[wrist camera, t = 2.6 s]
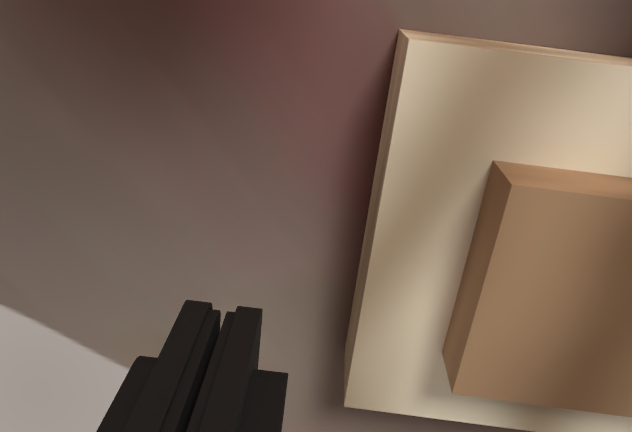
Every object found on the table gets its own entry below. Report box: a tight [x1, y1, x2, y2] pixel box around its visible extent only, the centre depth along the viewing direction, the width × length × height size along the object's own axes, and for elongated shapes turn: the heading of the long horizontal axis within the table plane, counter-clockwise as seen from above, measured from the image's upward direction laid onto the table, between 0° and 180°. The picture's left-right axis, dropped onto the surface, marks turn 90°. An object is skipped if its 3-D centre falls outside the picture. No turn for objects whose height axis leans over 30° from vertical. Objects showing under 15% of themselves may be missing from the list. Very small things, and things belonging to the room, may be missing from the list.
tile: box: [442, 160, 632, 418], centre depth 16 cm, size 9×7×2 cm
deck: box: [344, 29, 632, 432], centre depth 18 cm, size 16×13×3 cm
